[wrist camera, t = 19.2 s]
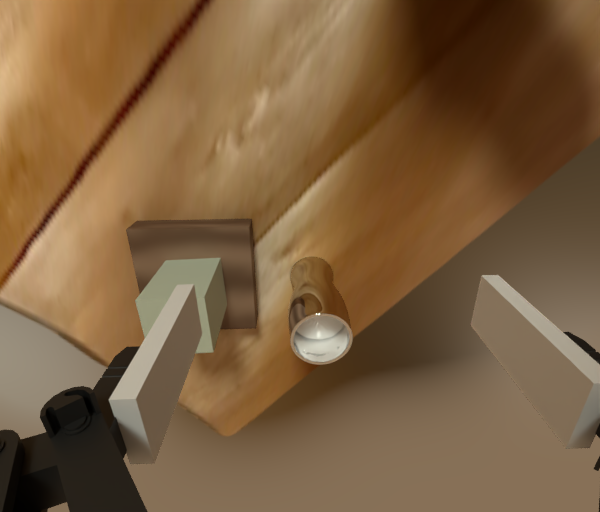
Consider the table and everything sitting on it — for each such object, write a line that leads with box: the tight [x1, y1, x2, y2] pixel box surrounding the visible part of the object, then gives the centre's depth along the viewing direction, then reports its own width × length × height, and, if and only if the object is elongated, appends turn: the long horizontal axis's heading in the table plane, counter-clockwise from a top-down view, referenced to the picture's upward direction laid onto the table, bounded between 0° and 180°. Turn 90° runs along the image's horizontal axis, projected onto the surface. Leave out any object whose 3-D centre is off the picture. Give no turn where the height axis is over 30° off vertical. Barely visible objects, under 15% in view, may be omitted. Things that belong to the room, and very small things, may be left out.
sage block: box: [135, 258, 227, 353], centre depth 42 cm, size 7×7×10 cm
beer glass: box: [288, 257, 353, 365], centre depth 44 cm, size 7×7×15 cm
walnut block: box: [126, 219, 258, 329], centre depth 48 cm, size 15×15×4 cm
